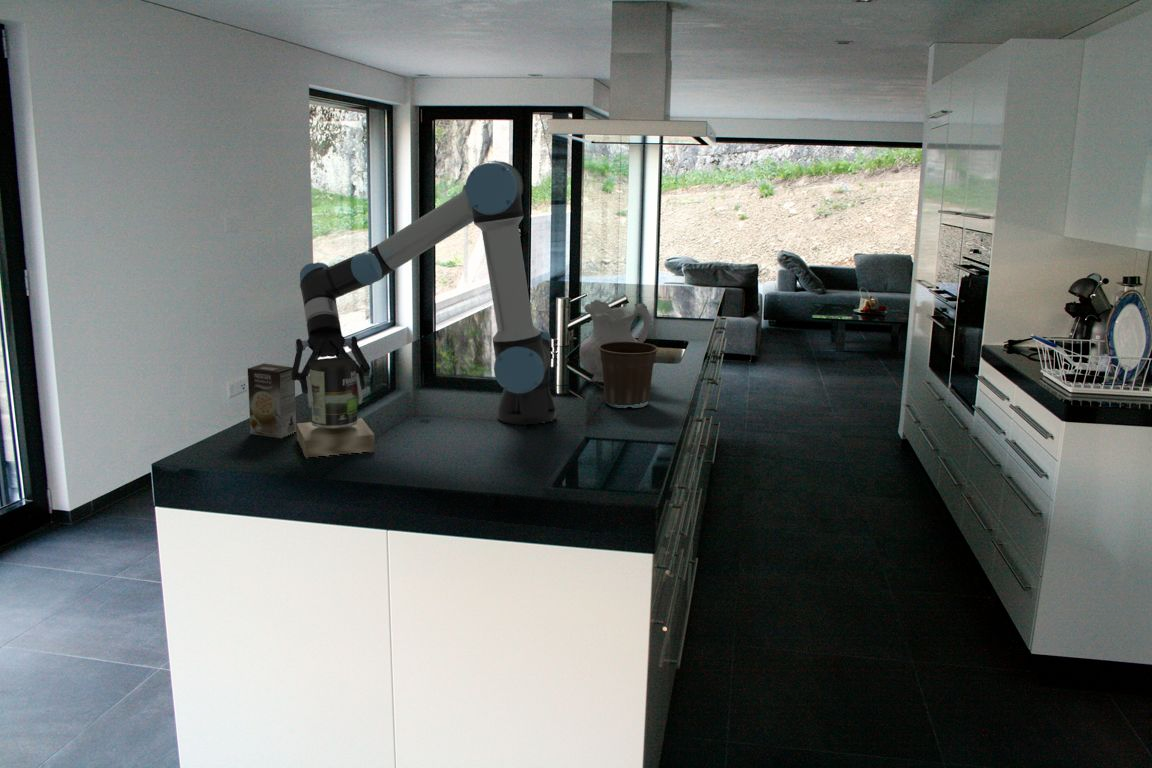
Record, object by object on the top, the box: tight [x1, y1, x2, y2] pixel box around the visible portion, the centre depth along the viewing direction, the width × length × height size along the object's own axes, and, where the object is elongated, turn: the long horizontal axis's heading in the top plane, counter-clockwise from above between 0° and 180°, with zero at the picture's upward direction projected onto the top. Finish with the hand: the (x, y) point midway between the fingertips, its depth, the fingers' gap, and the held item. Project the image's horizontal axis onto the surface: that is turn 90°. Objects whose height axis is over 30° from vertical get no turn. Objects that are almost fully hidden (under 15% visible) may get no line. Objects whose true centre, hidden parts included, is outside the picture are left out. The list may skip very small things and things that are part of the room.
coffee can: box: [309, 357, 358, 429], centre depth 214 cm, size 10×10×14 cm
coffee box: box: [247, 363, 297, 439], centre depth 223 cm, size 9×6×16 cm
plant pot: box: [598, 342, 659, 405], centre depth 259 cm, size 16×16×16 cm
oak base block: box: [296, 417, 376, 459], centre depth 216 cm, size 15×15×4 cm
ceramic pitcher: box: [579, 299, 651, 382], centre depth 286 cm, size 22×20×25 cm
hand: (336, 402), depth 211 cm, fingers closed on coffee can, 10 cm apart
